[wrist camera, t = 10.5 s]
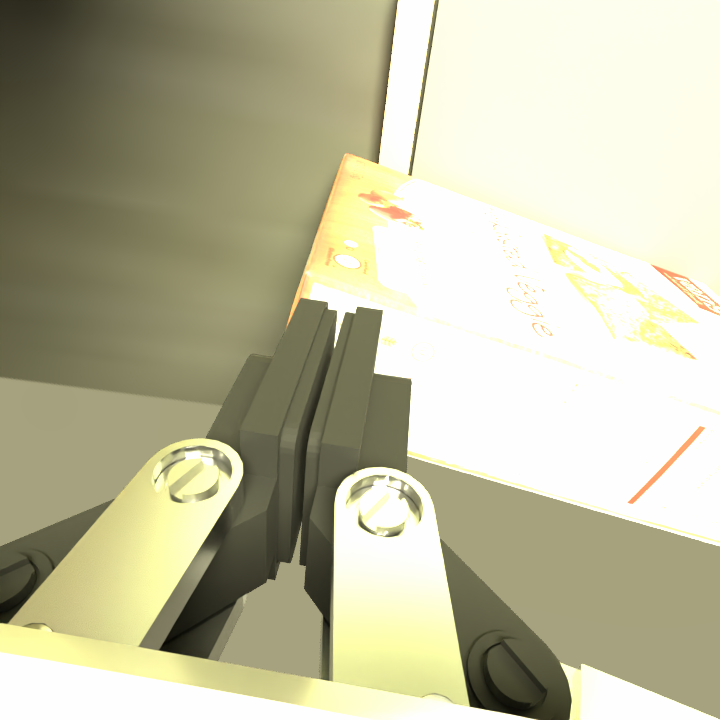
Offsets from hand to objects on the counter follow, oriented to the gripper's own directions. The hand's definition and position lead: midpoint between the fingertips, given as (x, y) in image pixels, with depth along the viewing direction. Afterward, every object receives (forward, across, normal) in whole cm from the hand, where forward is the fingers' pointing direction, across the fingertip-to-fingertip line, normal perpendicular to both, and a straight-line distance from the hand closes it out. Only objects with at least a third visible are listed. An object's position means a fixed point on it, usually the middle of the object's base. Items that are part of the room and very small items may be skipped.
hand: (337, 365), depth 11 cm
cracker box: (+11, +3, +2) cm, 11 cm away
